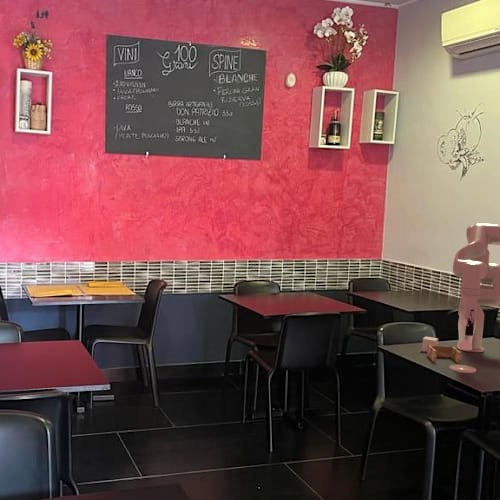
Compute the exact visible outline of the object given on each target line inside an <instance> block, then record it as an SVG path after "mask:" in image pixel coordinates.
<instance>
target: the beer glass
mask: <svg viewBox="0 0 500 500" xmlns="http://www.w3.org/2000/svg"><path fill="white" fill-rule="evenodd" d="M458 316H459V315H458ZM468 319H471V316H470V317H468ZM469 322H470V320H469ZM457 326H458V328H457V329H458V342H457V345H458V346H457V345H456V347H457V348H456V349H457V350H458V349H459V350H460V349H461V351H464V350H468V351H467V352H469V350H472V338H473V336H466V335H465V330H466V326H467V318H466V319H463V314H461V313H460V316H459V317H458V323H457ZM475 326H476V319H475V322H474V331H475ZM474 331H473V334H474Z"/></svg>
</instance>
